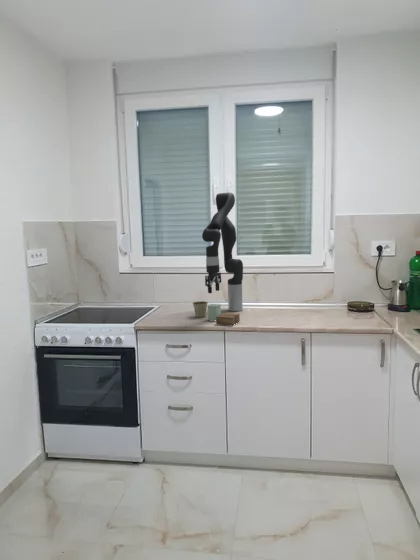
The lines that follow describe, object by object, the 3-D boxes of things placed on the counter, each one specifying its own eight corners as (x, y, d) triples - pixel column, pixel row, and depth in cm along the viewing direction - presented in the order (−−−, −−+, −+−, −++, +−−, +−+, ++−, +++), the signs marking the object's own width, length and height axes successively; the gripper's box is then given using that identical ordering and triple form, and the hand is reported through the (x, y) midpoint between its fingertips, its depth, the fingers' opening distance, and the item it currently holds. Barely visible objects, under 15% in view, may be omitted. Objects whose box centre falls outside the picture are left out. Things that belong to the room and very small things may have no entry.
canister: (212, 318, 251) (211, 304, 250) (221, 319, 248) (220, 304, 247) (208, 320, 246) (207, 305, 245) (216, 321, 243) (216, 306, 242)
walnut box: (223, 321, 244) (223, 312, 244) (239, 322, 240) (239, 313, 239) (216, 325, 236) (216, 316, 235) (232, 326, 231) (232, 317, 230)
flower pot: (195, 318, 251) (194, 304, 250) (191, 315, 260) (190, 302, 259) (210, 317, 254) (209, 303, 252) (206, 314, 263) (205, 300, 261)
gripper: (213, 262, 249) (214, 289, 251) (200, 265, 237) (201, 293, 239) (224, 262, 245) (225, 290, 247) (211, 265, 233) (213, 294, 235)
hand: (213, 291), depth 243 cm, fingers open, 8 cm apart
